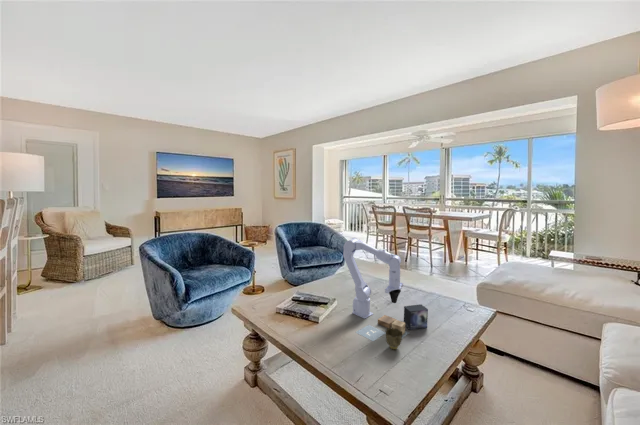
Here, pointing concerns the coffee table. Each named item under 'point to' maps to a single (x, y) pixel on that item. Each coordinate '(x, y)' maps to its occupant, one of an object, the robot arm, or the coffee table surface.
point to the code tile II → (405, 334)
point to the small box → (415, 317)
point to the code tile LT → (370, 332)
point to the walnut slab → (386, 321)
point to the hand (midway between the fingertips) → (394, 302)
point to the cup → (393, 338)
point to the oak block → (399, 325)
